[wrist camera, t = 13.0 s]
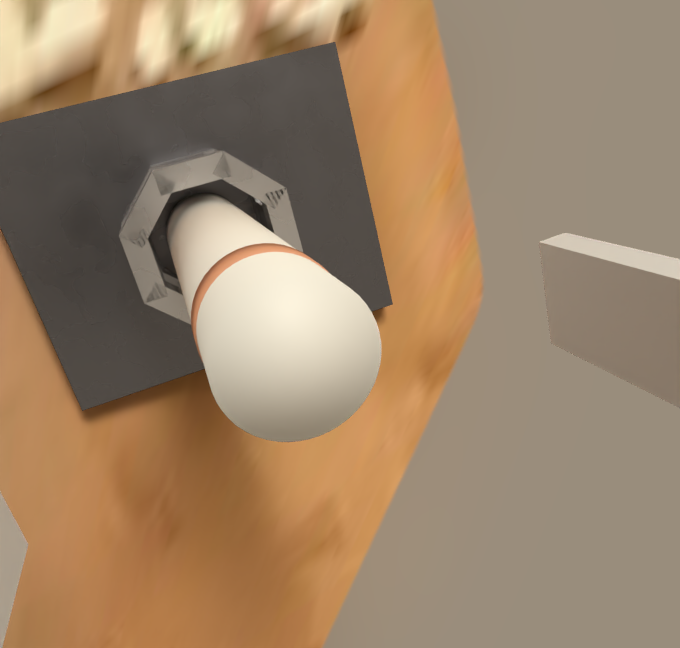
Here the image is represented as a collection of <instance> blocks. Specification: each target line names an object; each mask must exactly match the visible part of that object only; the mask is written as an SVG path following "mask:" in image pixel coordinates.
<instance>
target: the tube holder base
mask: <svg viewBox="0 0 680 648" xmlns="http://www.w3.org/2000/svg"><path fill="white" fill-rule="evenodd" d="M197 193H211V194H215V195H218V196H221V197H223V198H225V199H226V200H228V201H229V202H231V203H232V204H233V205H235V206H236V207H238V208H239V209H240V210H242V211H243V212H245V213H246V214H247V215H249V216H250V217H252V218H253V219H254V220H256V221H257V222H259V223H260V224H261V225H263V226H264V227H265V228H267V229H268V230H270V231H271V232H272V233H274V234H275V235H277V236H278V237H279V238H281V239H282V240H284V241H285V242H286V243H288V244H289V245H291V246H292V247H293V248H295V249H297V250H299V251H301V252H303V253H304V254H306V255H307V256H309V257H310V258H312V259H313V260H315V261H316V262H317V263H319V264H320V265H321V266H322V267H324V268H325V269H326V270H327V271H328V272H329V273H330V274H331V275H333V276H334V277H335V278H337V279H338V280H340V281H341V282H342V283H344V284H345V285H347V286H348V287H349V288H351V289H352V290H353V291H354V292H355V293H357V294H358V295H359V296H360V297H361V298H362V300H363V301H364V302H365V303H366V304H367V306H368V307H369V309H370V310H371V312H372V311H375V310H377V309H380V308H383V307H386V306H389V305H392V304H393V303H392V299H391V294H390V290H389V285H388V281H387V276H386V272H385V267H384V262H383V258H382V253H381V249H380V244H379V240H378V235H377V231H376V226H375V221H374V217H373V212H372V208H371V203H370V199H369V194H368V190H367V185H366V180H365V176H364V171H363V167H362V162H361V158H360V153H359V149H358V144H357V140H356V135H355V130H354V126H353V121H352V117H351V112H350V108H349V103H348V99H347V94H346V89H345V85H344V80H343V76H342V71H341V67H340V62H339V58H338V53H337V48H336V44H335V42H333V43H329V44H325V45H321V46H317V47H312V48H308V49H304V50H300V51H296V52H292V53H288V54H283V55H279V56H275V57H271V58H267V59H263V60H259V61H254V62H250V63H246V64H242V65H238V66H234V67H230V68H225V69H221V70H217V71H213V72H209V73H205V74H201V75H197V76H192V77H188V78H184V79H180V80H176V81H172V82H168V83H163V84H159V85H155V86H151V87H147V88H143V89H139V90H134V91H130V92H126V93H122V94H118V95H114V96H110V97H106V98H101V99H97V100H93V101H89V102H85V103H81V104H77V105H72V106H68V107H64V108H60V109H56V110H52V111H48V112H43V113H39V114H35V115H31V116H27V117H23V118H19V119H15V120H10V121H6V122H2V123H0V227H1V230H2V232H3V234H4V236H5V238H6V241H7V243H8V245H9V247H10V250H11V252H12V254H13V256H14V259H15V261H16V263H17V265H18V268H19V270H20V272H21V274H22V277H23V279H24V281H25V283H26V286H27V288H28V290H29V292H30V294H31V297H32V299H33V301H34V303H35V306H36V308H37V310H38V312H39V315H40V317H41V319H42V321H43V324H44V326H45V328H46V330H47V333H48V335H49V337H50V339H51V342H52V344H53V346H54V348H55V350H56V353H57V355H58V357H59V359H60V362H61V364H62V366H63V368H64V371H65V373H66V375H67V377H68V380H69V382H70V384H71V386H72V389H73V391H74V393H75V395H76V398H77V400H78V402H79V404H80V406H81V409H82V411H83V410H86V409H89V408H92V407H94V406H97V405H100V404H103V403H106V402H109V401H112V400H115V399H118V398H121V397H124V396H127V395H129V394H132V393H135V392H138V391H141V390H144V389H147V388H150V387H153V386H156V385H159V384H162V383H164V382H167V381H170V380H173V379H176V378H179V377H182V376H185V375H188V374H191V373H194V372H197V371H200V370H202V369H205V367H204V364H203V362H202V360H201V358H200V355H199V353H198V350H197V346H196V343H195V339H194V336H193V332H192V326H191V320H190V316H189V313H188V310H187V306H186V303H185V300H184V296H183V293H182V289H181V286H180V283H179V279H178V276H177V273H176V269H175V266H174V262H173V259H172V256H171V252H170V249H169V245H168V242H167V238H166V223H167V219H168V217H169V214H170V212H171V211H172V209H173V208H174V207H175V205H176V204H177V203H178V202H180V201H181V200H182V199H184V198H186V197H188V196H190V195H193V194H197Z"/></svg>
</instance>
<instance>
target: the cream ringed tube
mask: <svg viewBox="0 0 680 648" xmlns="http://www.w3.org/2000/svg"><path fill="white" fill-rule="evenodd" d="M166 238H167V242H168V245H169V249H170V252H171V256H172V259H173V262H174V266H175V269H176V273H177V276H178V279H179V283H180V286H181V289H182V293H183V296H184V300H185V303H186V306H187V310H188V313H189V316H190V320H191V326H192V332H193V336H194V339H195V343H196V346H197V350H198V353H199V355H200V358H201V360H202V362H203V364H204V367H205V371H206V374H207V377H208V381H209V384H210V388H211V391H212V393H213V396H214V398H215V400H216V402H217V404H218V405H219V407H220V408H221V410H222V411H223V413H224V414H225V415H226V416H227V417H228V418H229V419H230V420H231V421H232V422H233V423H234V424H235V425H236V426H238V427H239V428H241V429H242V430H244V431H246V432H248V433H250V434H252V435H254V436H256V437H259V438H263V439H266V440H271V441H278V442H294V441H302V440H307V439H311V438H314V437H317V436H320V435H323V434H325V433H327V432H329V431H331V430H333V429H334V428H336V427H338V426H339V425H341V424H342V423H343V422H345V421H346V420H347V419H349V418H350V417H351V416H352V415H353V414H354V413H355V412H356V411H357V410H358V408H359V407H360V406H361V405H362V404H363V402H364V401H365V399H366V398H367V396H368V395H369V393H370V391H371V389H372V387H373V385H374V383H375V380H376V378H377V375H378V371H379V367H380V361H381V339H380V333H379V329H378V326H377V323H376V320H375V318H374V316H373V314H372V312H371V310H370V309H369V307H368V306H367V304H366V303H365V302H364V301H363V300H362V298H361V297H360V296H359V295H358V294H357V293H355V292H354V291H353V290H352V289H351V288H349V287H348V286H347V285H345V284H344V283H342V282H341V281H340V280H338V279H337V278H335V277H334V276H333V275H331V274H330V273H329V272H328V271H327V270H326V269H325V268H324V267H322V266H321V265H320V264H319V263H317V262H316V261H315V260H313V259H312V258H310V257H309V256H307V255H306V254H304V253H303V252H301V251H299V250H297V249H295V248H293V247H292V246H291V245H289V244H288V243H286V242H285V241H284V240H282V239H281V238H279V237H278V236H277V235H275V234H274V233H272V232H271V231H270V230H268V229H267V228H265V227H264V226H263V225H261V224H260V223H259V222H257V221H256V220H254V219H253V218H252V217H250V216H249V215H247V214H246V213H245V212H243V211H242V210H240V209H239V208H238V207H236V206H235V205H233V204H232V203H231V202H229V201H228V200H226V199H225V198H223V197H221V196H218V195H215V194H211V193H197V194H193V195H190V196H188V197H186V198H184V199H182V200H181V201H180V202H178V203H177V204H176V205H175V207H174V208H173V209H172V211H171V212H170V214H169V217H168V219H167V223H166Z"/></svg>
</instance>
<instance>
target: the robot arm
mask: <svg viewBox="0 0 680 648" xmlns="http://www.w3.org/2000/svg"><path fill="white" fill-rule="evenodd" d="M539 248H540V255H541V264H542V273H543V281H544V289H545V297H546V306H547V314H548V322H549V331H550V339H551V344H553V345H555V346H557V347H559V348H561V349H564V350H565V351H567V352H570V353H571V354H573V355H575V356H577V357H579V358H581V359H583V360H585V361H587V362H589V363H591V364H594V365H595V366H597V367H599V368H601V369H603V370H605V371H607V372H609V373H611V374H613V375H615V376H617V377H619V378H621V379H623V380H625V381H627V382H629V383H631V384H633V385H635V386H637V387H639V388H641V389H643V390H645V391H647V392H649V393H651V394H653V395H655V396H657V397H659V398H661V399H663V400H665V401H667V402H669V403H671V404H673V405H675V406H677V407H679V408H680V259H677V258H672V257H668V256H664V255H659V254H655V253H651V252H646V251H642V250H638V249H633V248H629V247H625V246H620V245H616V244H612V243H607V242H603V241H599V240H594V239H590V238H585V237H581V236H577V235H573V234H568V233H563V234H561V235H558V236H555V237H552V238H549V239H546V240H543V241H540V242H539ZM27 547H28V543H27V541H26V539H25V537H24V535H23V533H22V532H21V530H20V528H19V526H18V524H17V522H16V520H15V518H14V517H13V515H12V513H11V511H10V509H9V507H8V505H7V503H6V502H5V500H4V498H3V496H2V494H1V492H0V648H2V646H3V642H4V638H5V634H6V631H7V627H8V623H9V619H10V615H11V611H12V607H13V603H14V599H15V595H16V591H17V587H18V583H19V579H20V575H21V571H22V567H23V563H24V559H25V555H26V551H27Z"/></svg>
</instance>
